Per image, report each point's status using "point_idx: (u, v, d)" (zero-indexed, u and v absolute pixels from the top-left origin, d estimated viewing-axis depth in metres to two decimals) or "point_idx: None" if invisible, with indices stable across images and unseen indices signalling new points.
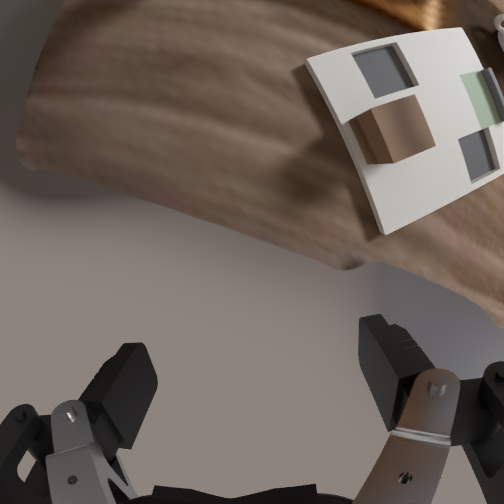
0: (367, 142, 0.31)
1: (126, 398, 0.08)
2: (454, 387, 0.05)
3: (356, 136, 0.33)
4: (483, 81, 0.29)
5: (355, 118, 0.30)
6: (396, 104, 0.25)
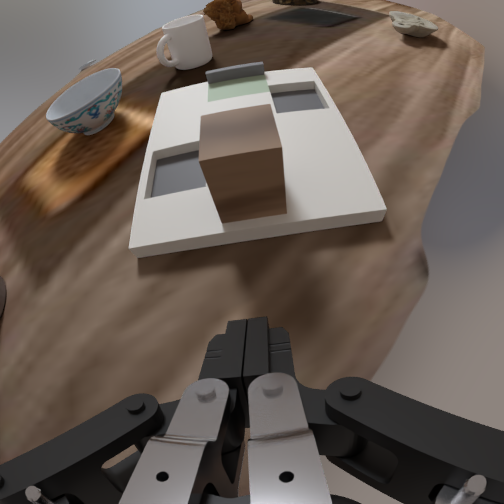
0: (252, 196, 0.24)
1: None
2: (286, 394, 0.06)
3: (245, 217, 0.27)
4: (220, 83, 0.41)
5: (216, 204, 0.25)
6: (205, 133, 0.22)
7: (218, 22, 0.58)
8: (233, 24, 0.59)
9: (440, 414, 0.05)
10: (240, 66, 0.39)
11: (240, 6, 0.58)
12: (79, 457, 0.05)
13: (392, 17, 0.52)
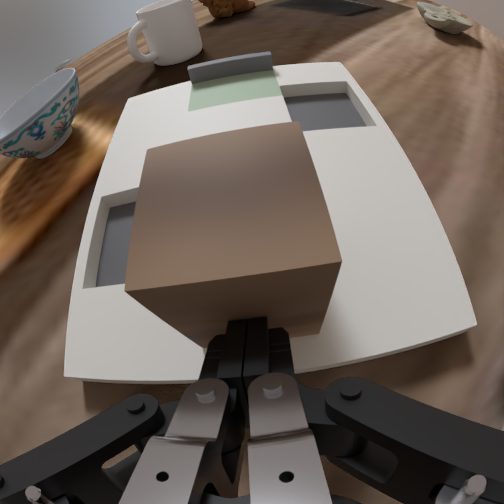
0: None
1: None
2: (286, 394, 0.06)
3: None
4: (208, 82, 0.28)
5: (188, 335, 0.12)
6: (148, 200, 0.09)
7: (211, 8, 0.45)
8: (230, 11, 0.46)
9: (440, 414, 0.05)
10: (238, 57, 0.26)
11: None
12: (79, 457, 0.05)
13: (421, 8, 0.39)
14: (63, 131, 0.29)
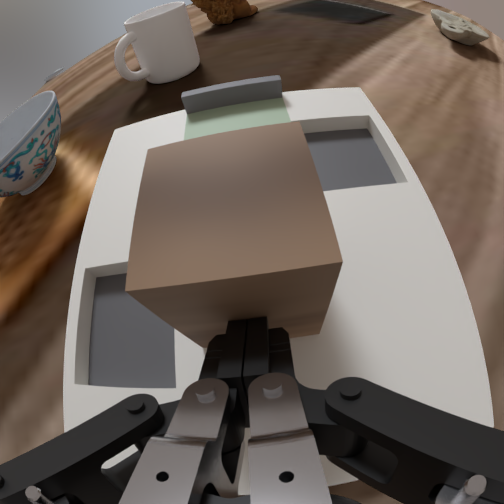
0: None
1: None
2: (286, 394, 0.06)
3: None
4: (206, 112, 0.25)
5: (188, 335, 0.12)
6: (148, 200, 0.09)
7: (210, 14, 0.42)
8: (230, 17, 0.43)
9: (440, 414, 0.05)
10: (241, 83, 0.23)
11: None
12: (79, 457, 0.05)
13: (436, 17, 0.36)
14: (45, 167, 0.26)
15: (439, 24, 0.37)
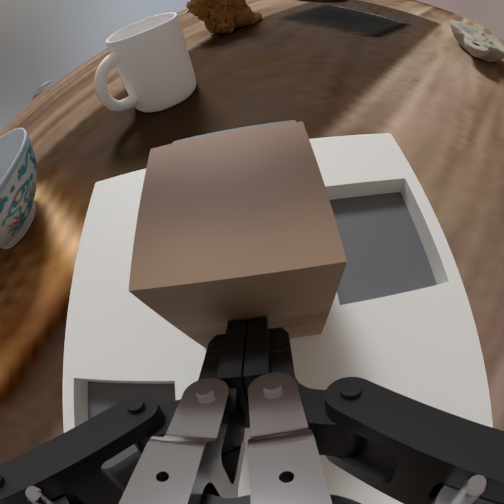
0: None
1: None
2: (286, 394, 0.06)
3: None
4: None
5: (191, 334, 0.12)
6: (152, 200, 0.09)
7: (208, 23, 0.39)
8: (231, 26, 0.40)
9: (440, 414, 0.05)
10: None
11: None
12: (79, 457, 0.05)
13: (457, 30, 0.32)
14: (21, 222, 0.22)
15: (460, 38, 0.33)
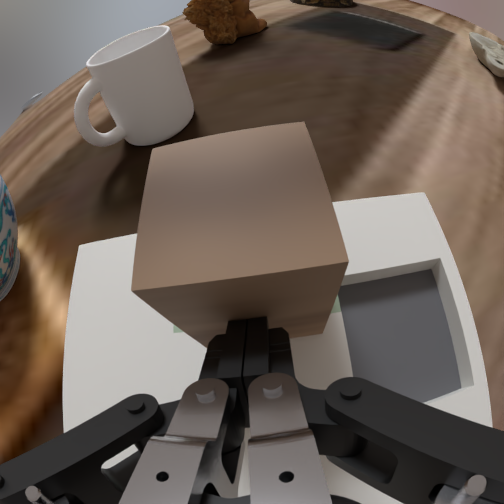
0: None
1: None
2: (286, 394, 0.06)
3: None
4: None
5: (192, 334, 0.12)
6: (154, 200, 0.09)
7: (207, 32, 0.36)
8: (232, 36, 0.36)
9: (440, 414, 0.05)
10: None
11: (246, 5, 0.36)
12: (79, 457, 0.05)
13: (477, 44, 0.29)
14: (5, 282, 0.19)
15: (480, 53, 0.30)
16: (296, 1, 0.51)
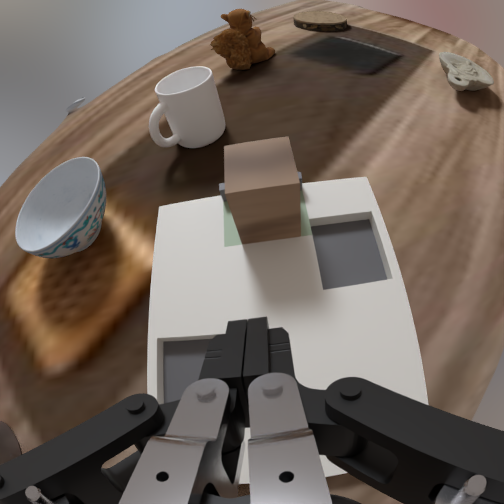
0: (271, 222, 0.27)
1: None
2: (286, 394, 0.06)
3: (263, 239, 0.30)
4: None
5: (238, 228, 0.28)
6: (229, 165, 0.25)
7: (229, 61, 0.51)
8: (248, 64, 0.52)
9: (440, 414, 0.05)
10: None
11: (258, 38, 0.51)
12: (79, 457, 0.05)
13: (444, 63, 0.43)
14: (95, 233, 0.34)
15: (446, 70, 0.44)
16: (299, 26, 0.65)
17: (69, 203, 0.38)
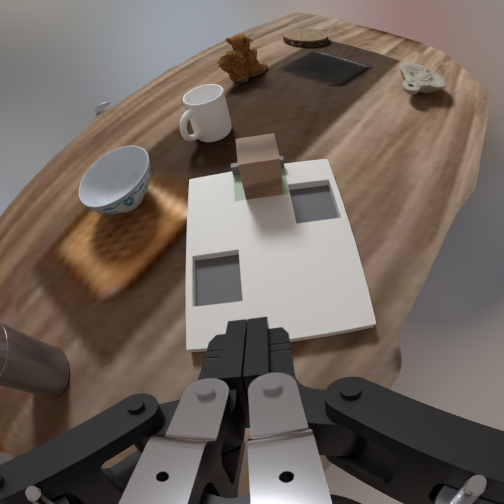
0: (264, 184, 0.45)
1: None
2: (286, 394, 0.06)
3: (259, 196, 0.47)
4: None
5: (244, 188, 0.45)
6: (239, 150, 0.43)
7: (231, 75, 0.69)
8: (246, 78, 0.69)
9: (440, 414, 0.05)
10: None
11: (254, 57, 0.68)
12: (78, 457, 0.05)
13: (402, 73, 0.62)
14: None
15: (404, 78, 0.63)
16: (287, 43, 0.83)
17: (116, 179, 0.55)
